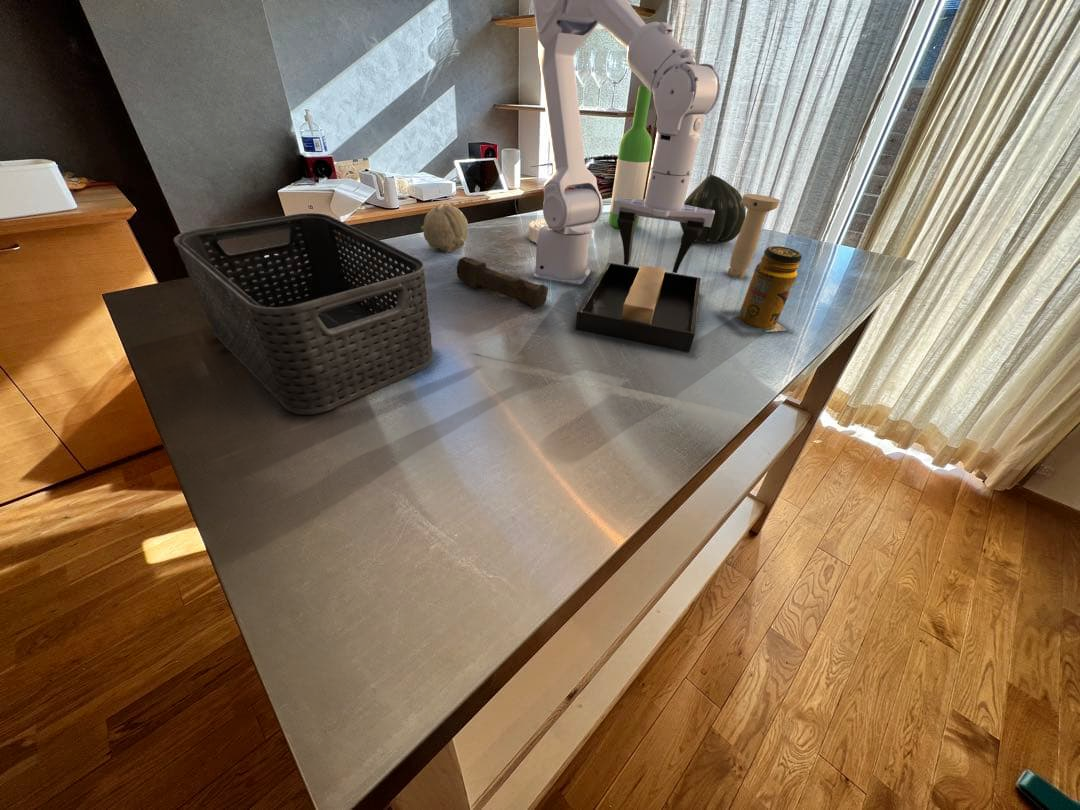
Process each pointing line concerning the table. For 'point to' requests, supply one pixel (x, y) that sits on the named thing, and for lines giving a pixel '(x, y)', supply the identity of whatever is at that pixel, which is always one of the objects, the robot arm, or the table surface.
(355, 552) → the table surface
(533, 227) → the mooncake
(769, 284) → the condiment
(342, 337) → the storage bin
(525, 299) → the hand tool
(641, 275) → the stick
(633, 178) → the wine bottle
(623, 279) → the black tray
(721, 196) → the squash
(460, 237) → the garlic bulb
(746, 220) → the handle
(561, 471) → the table surface
